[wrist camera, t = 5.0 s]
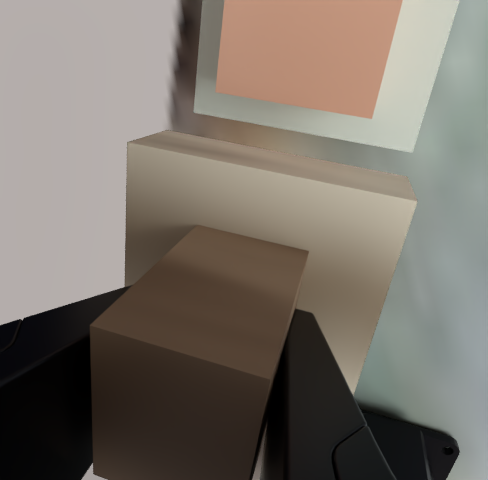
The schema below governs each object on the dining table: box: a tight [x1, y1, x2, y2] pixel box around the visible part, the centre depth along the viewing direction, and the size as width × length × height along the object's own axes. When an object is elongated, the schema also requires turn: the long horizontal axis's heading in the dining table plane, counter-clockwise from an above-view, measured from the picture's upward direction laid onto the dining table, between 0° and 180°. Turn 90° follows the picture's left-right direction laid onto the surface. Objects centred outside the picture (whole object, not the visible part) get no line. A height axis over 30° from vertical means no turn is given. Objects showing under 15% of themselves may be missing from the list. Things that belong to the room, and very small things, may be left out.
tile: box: [215, 0, 403, 119], centre depth 11 cm, size 4×4×2 cm
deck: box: [193, 0, 460, 152], centre depth 13 cm, size 7×7×3 cm
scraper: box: [90, 130, 418, 480], centre depth 9 cm, size 6×6×6 cm
